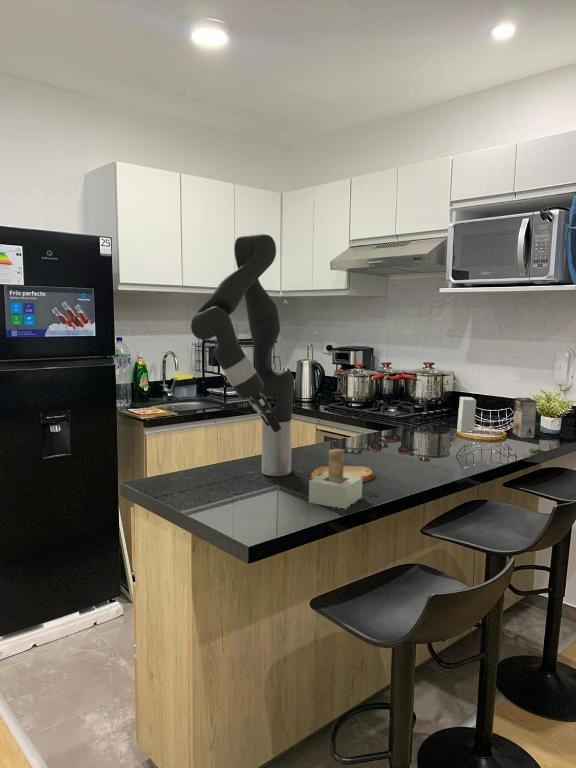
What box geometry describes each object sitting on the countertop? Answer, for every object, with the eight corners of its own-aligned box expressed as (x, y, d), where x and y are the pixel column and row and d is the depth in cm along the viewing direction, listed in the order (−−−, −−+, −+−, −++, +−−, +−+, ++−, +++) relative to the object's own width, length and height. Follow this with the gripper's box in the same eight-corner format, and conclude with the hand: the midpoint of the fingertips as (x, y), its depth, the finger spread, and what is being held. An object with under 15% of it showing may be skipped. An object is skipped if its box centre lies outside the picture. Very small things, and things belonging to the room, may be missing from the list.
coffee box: (511, 433, 255) (514, 397, 253) (526, 433, 255) (528, 397, 253) (519, 437, 246) (522, 400, 244) (534, 438, 246) (537, 400, 244)
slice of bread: (377, 475, 186) (377, 464, 186) (362, 490, 170) (362, 478, 169) (324, 468, 193) (325, 457, 193) (305, 483, 177) (305, 471, 176)
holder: (326, 491, 167) (326, 471, 166) (361, 498, 161) (362, 477, 161) (308, 502, 157) (309, 480, 156) (345, 509, 152) (346, 487, 151)
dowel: (331, 497, 162) (332, 448, 160) (344, 499, 160) (346, 450, 158) (325, 501, 158) (326, 451, 157) (338, 503, 156) (340, 453, 155)
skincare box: (456, 428, 263) (458, 396, 261) (470, 429, 263) (472, 396, 261) (460, 432, 255) (462, 399, 253) (474, 432, 255) (476, 399, 253)
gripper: (261, 372, 145) (292, 424, 150) (249, 366, 159) (279, 414, 163) (236, 388, 144) (268, 440, 148) (226, 381, 158) (256, 429, 162)
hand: (274, 427), depth 156 cm, fingers open, 8 cm apart
